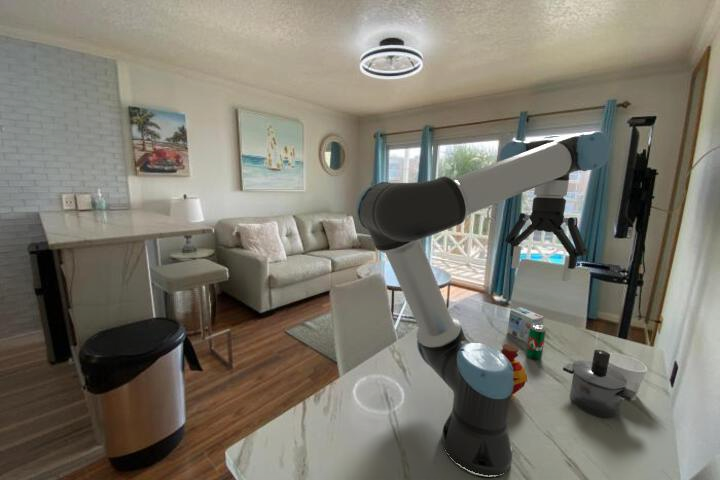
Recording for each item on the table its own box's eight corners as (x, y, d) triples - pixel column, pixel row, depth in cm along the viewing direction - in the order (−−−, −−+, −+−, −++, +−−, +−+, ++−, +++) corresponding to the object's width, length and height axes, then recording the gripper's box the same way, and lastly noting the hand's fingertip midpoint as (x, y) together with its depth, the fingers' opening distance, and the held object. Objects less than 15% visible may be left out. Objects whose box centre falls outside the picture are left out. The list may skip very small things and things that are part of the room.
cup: (594, 389, 94) (599, 359, 92) (602, 377, 100) (607, 349, 99) (637, 407, 86) (644, 376, 85) (643, 393, 93) (649, 363, 91)
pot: (620, 430, 78) (627, 399, 76) (553, 395, 90) (558, 367, 89) (634, 414, 84) (641, 384, 82) (570, 382, 97) (574, 356, 95)
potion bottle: (501, 409, 84) (508, 359, 81) (478, 385, 94) (483, 340, 91) (532, 403, 86) (540, 355, 84) (506, 381, 96) (512, 337, 94)
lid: (613, 395, 77) (618, 370, 76) (563, 370, 88) (567, 347, 87) (634, 381, 83) (638, 358, 82) (584, 359, 94) (588, 338, 92)
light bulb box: (506, 332, 129) (509, 308, 127) (517, 330, 132) (520, 306, 130) (529, 344, 120) (533, 319, 118) (541, 341, 123) (544, 316, 121)
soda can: (537, 353, 113) (541, 323, 111) (544, 361, 108) (548, 329, 106) (523, 352, 114) (527, 322, 112) (529, 360, 109) (533, 328, 107)
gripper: (612, 199, 74) (597, 283, 77) (512, 195, 94) (504, 262, 98) (600, 199, 69) (584, 288, 73) (498, 194, 90) (490, 264, 93)
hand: (538, 273), depth 85 cm, fingers open, 13 cm apart
